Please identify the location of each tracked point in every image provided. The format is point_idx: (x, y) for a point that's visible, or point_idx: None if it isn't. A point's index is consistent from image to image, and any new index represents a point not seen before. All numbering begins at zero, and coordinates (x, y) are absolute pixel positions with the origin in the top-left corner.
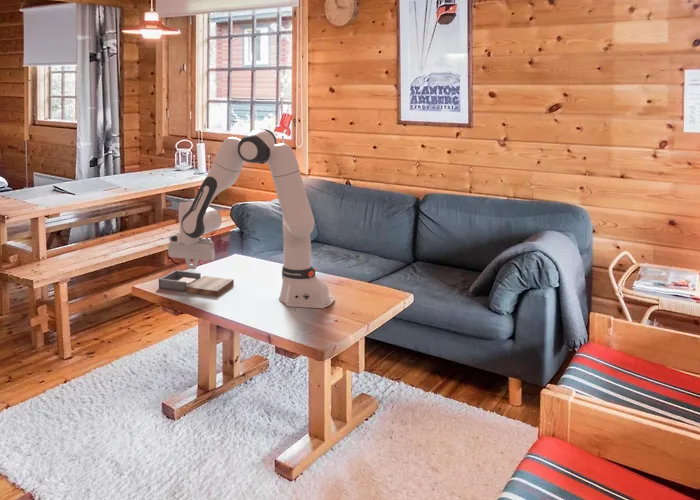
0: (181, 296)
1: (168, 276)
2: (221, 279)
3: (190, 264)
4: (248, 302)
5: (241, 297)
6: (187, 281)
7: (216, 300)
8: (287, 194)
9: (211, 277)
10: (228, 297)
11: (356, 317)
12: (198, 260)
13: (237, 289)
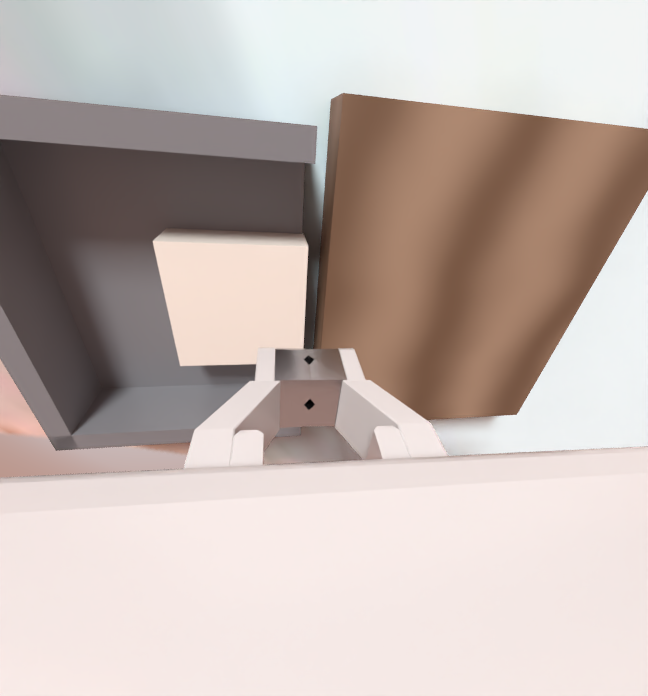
0: (310, 437)
1: (30, 336)
2: (556, 172)
3: (280, 406)
4: (638, 392)
5: (620, 350)
6: (268, 341)
7: (492, 420)
8: None
9: (447, 131)
10: (552, 371)
11: None
12: (432, 430)
13: (629, 225)
